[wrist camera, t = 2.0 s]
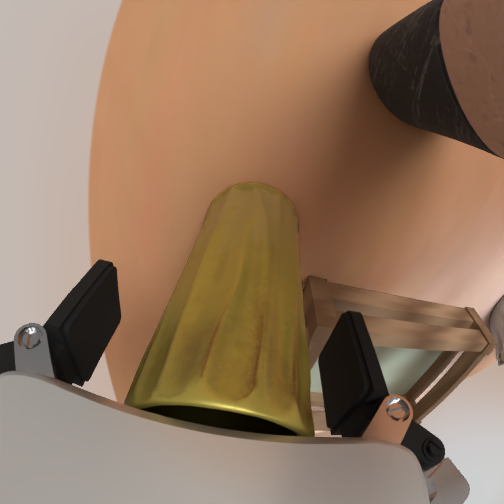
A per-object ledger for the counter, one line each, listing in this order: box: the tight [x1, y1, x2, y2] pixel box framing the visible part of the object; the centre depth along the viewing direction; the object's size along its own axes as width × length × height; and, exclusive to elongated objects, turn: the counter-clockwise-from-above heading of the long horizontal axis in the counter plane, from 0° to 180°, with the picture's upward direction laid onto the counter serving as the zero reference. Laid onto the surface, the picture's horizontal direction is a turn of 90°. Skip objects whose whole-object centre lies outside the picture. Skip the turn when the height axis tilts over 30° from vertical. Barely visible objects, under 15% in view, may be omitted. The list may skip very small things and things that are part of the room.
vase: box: [124, 182, 315, 437], centre depth 12 cm, size 6×6×14 cm
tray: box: [303, 276, 497, 431], centre depth 22 cm, size 18×14×5 cm
